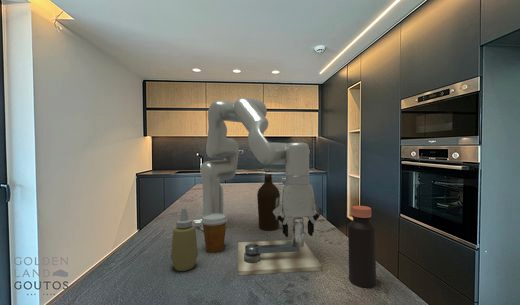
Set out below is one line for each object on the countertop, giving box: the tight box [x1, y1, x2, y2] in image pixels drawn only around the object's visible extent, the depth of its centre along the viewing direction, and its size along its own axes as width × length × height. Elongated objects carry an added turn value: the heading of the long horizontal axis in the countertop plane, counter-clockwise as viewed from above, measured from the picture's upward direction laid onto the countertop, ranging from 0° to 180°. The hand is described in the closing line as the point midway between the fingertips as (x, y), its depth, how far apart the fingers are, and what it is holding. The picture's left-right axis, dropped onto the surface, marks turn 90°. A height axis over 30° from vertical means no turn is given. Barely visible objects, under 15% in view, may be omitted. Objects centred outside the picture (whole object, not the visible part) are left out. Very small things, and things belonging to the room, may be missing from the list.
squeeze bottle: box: [170, 208, 199, 272], centre depth 74 cm, size 8×8×18 cm
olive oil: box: [256, 173, 281, 231], centre depth 111 cm, size 11×11×25 cm
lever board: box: [237, 239, 324, 276], centre depth 80 cm, size 25×22×3 cm
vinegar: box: [347, 205, 377, 289], centre depth 64 cm, size 7×7×20 cm
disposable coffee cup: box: [201, 213, 229, 253], centre depth 87 cm, size 10×10×12 cm
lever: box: [245, 217, 305, 256], centre depth 76 cm, size 19×4×12 cm, turn 95°
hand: (298, 234), depth 77 cm, fingers open, 7 cm apart
